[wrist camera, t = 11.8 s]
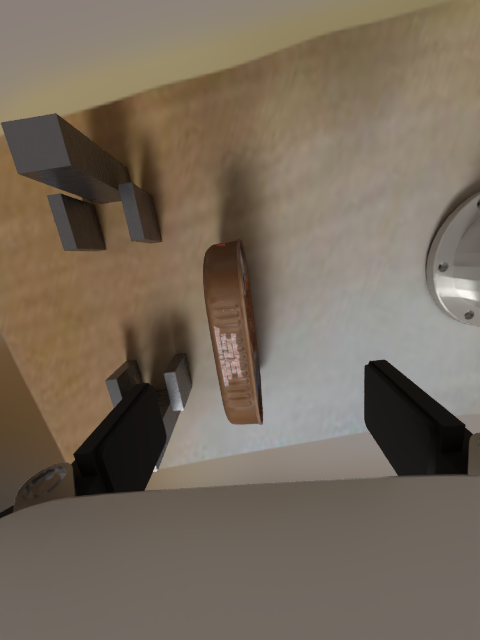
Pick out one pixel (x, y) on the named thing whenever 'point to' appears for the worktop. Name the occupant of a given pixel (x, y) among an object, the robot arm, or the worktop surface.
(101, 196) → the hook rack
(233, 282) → the tin
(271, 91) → the worktop surface
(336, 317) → the worktop surface
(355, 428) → the worktop surface
